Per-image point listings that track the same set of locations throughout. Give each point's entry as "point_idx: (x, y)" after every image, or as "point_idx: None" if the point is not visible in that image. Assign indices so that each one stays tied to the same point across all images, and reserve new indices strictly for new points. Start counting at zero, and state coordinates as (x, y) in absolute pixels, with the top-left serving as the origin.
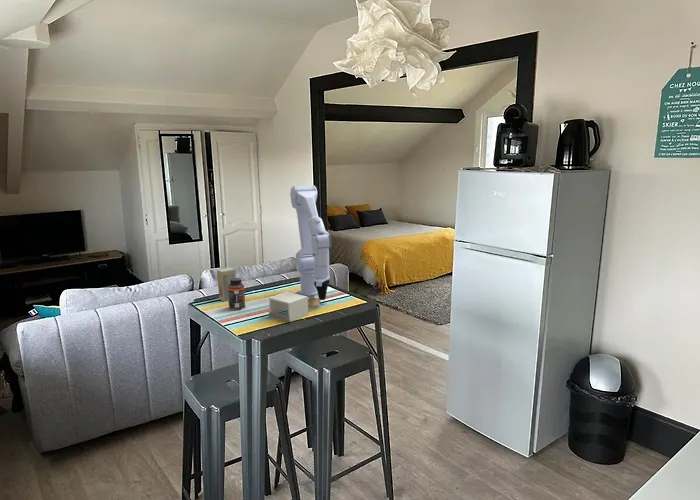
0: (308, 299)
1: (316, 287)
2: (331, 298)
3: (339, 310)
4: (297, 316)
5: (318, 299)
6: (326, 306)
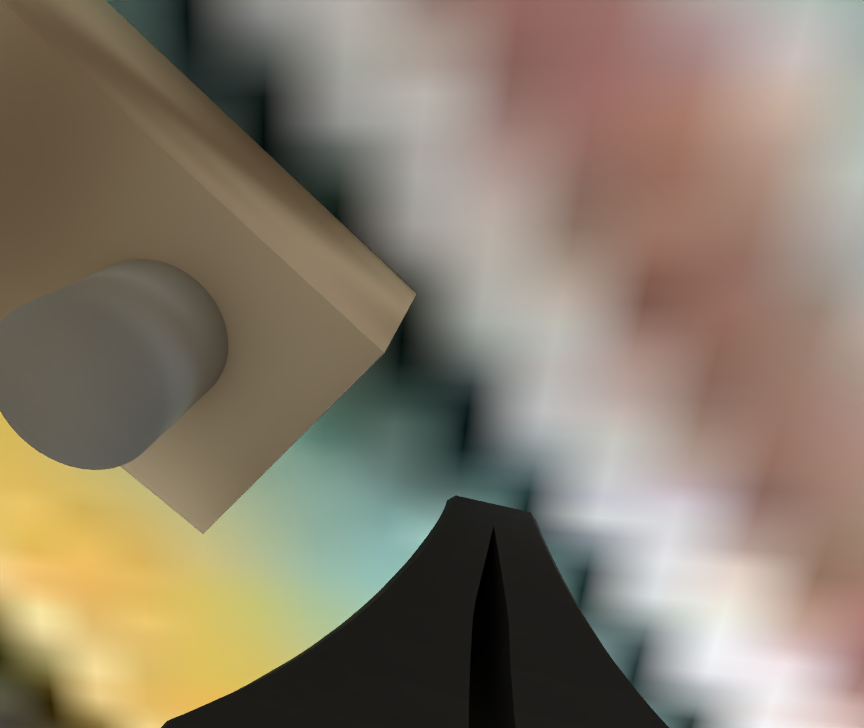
0: (179, 235)
1: (257, 699)
2: (767, 695)
3: (46, 714)
4: None
5: (186, 498)
6: (250, 556)
